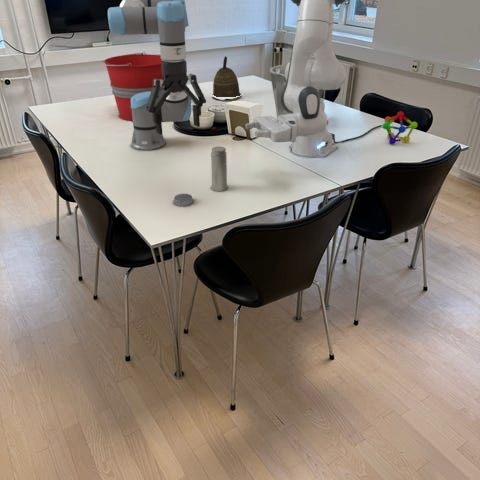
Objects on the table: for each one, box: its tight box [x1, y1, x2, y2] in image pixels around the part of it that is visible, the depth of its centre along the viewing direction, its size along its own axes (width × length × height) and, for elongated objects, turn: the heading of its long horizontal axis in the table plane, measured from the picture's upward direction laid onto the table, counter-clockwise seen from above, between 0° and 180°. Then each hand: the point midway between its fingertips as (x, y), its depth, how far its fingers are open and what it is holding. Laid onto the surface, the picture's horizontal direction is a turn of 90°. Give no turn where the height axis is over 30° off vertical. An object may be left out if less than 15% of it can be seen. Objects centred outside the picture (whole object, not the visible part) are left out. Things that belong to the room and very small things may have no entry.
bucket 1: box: [100, 51, 164, 122], centre depth 241 cm, size 35×35×30 cm
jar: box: [210, 145, 228, 192], centre depth 163 cm, size 6×6×16 cm
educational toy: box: [382, 110, 418, 145], centre depth 207 cm, size 16×13×15 cm
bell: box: [212, 56, 242, 97], centre depth 278 cm, size 19×26×20 cm
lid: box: [173, 193, 193, 207], centre depth 157 cm, size 6×6×2 cm
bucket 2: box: [269, 64, 326, 119], centre depth 226 cm, size 30×30×28 cm
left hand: (178, 129), depth 144 cm, fingers open, 13 cm apart
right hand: (251, 130), depth 160 cm, fingers open, 8 cm apart
